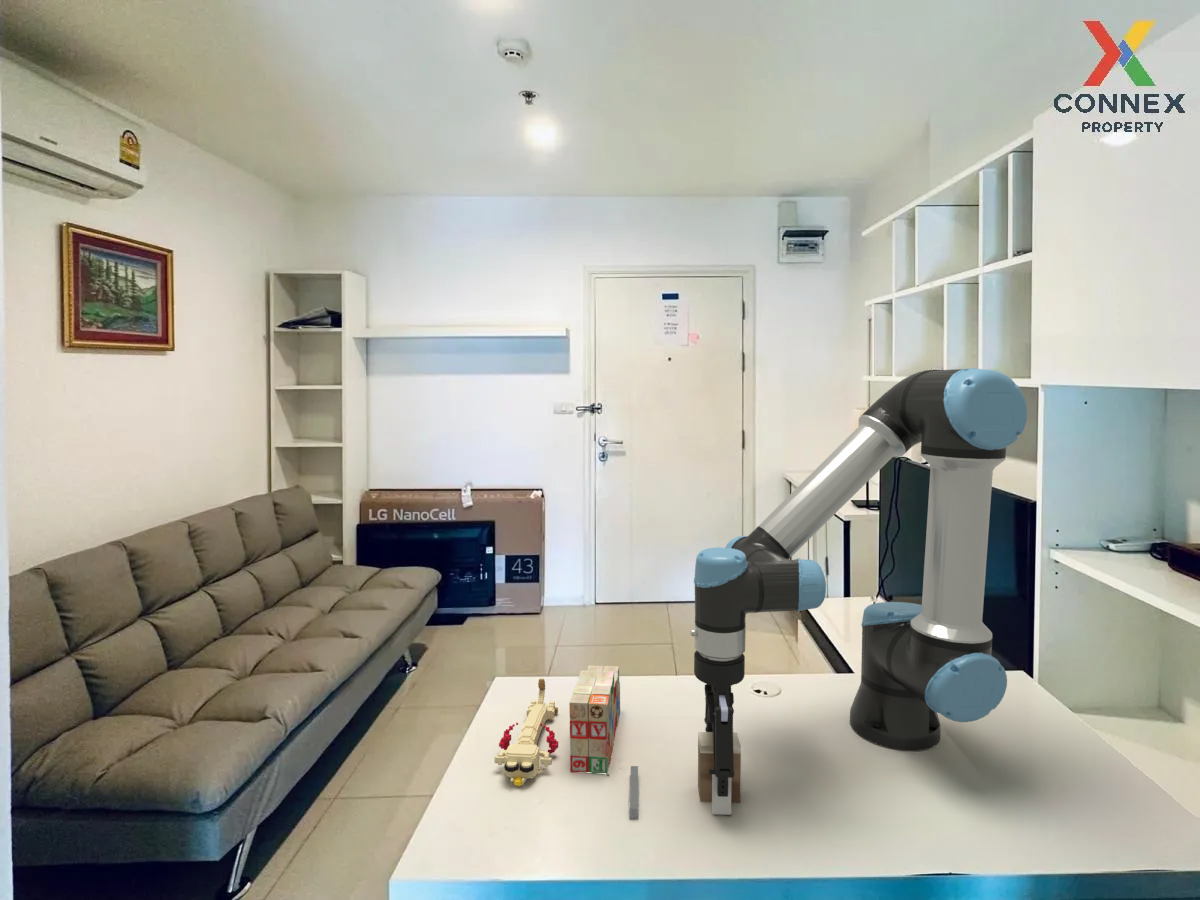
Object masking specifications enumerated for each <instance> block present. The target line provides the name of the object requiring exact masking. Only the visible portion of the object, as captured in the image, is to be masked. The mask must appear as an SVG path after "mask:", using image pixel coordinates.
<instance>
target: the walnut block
mask: <svg viewBox="0 0 1200 900" xmlns="http://www.w3.org/2000/svg"><path fill="white" fill-rule="evenodd" d="M741 753H742V746H741V742H740V738H739V734H738V732H734V731H733V766H734V777H733V778H732V781H731V804H741V771H742V770H741V769H742V768H741V764H742V763H741V762H742V761H741V760H742V759H741V758H742V754H741ZM713 768H714V755H713V732H706V731H698V732H697V789H699V790H698V797H699V802H700V803H712V774H709V769H713Z"/></svg>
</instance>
